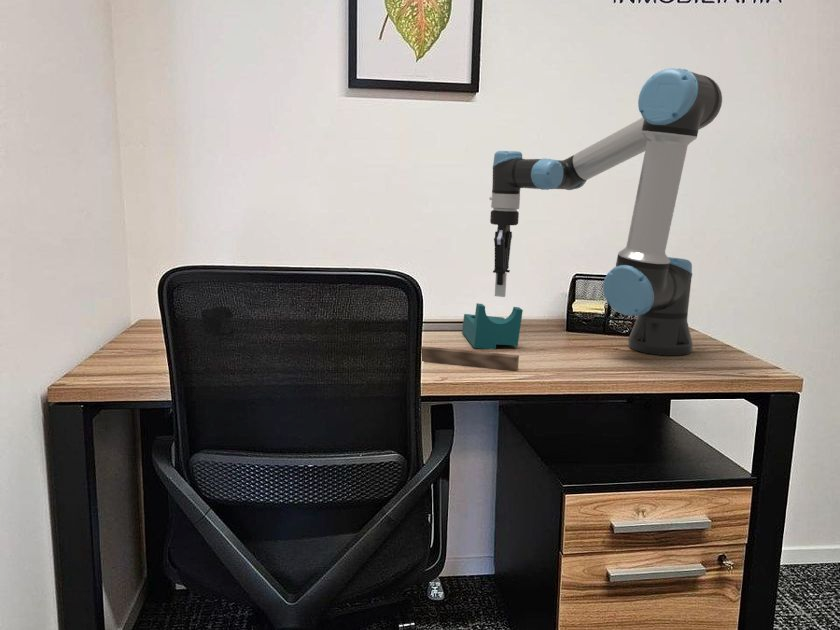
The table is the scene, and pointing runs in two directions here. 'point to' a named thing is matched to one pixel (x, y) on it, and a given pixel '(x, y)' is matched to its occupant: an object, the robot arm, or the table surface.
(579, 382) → the table surface
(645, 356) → the table surface
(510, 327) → the teal notched cradle
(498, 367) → the walnut bar
